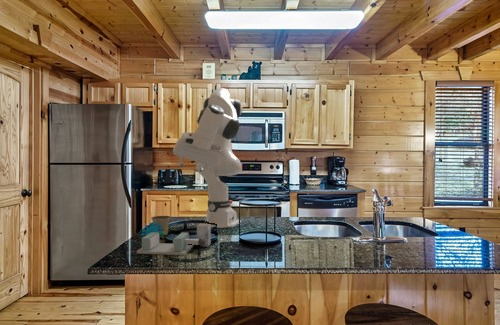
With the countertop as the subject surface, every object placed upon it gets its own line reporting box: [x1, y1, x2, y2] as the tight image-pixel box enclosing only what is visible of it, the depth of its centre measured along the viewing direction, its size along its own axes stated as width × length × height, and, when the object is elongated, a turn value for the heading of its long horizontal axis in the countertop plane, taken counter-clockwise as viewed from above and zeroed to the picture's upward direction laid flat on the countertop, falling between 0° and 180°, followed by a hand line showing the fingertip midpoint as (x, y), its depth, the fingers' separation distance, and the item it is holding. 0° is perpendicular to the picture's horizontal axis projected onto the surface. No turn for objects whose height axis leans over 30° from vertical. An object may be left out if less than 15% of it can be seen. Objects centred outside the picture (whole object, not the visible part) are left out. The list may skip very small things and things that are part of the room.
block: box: [196, 223, 212, 248], centre depth 143 cm, size 5×5×9 cm
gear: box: [140, 222, 166, 239], centre depth 154 cm, size 11×6×10 cm
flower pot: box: [151, 215, 171, 236], centre depth 162 cm, size 9×9×9 cm
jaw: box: [172, 232, 206, 251], centre depth 135 cm, size 12×10×5 cm
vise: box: [136, 232, 194, 256], centre depth 136 cm, size 20×12×6 cm, turn 84°
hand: (190, 168), depth 143 cm, fingers open, 8 cm apart
